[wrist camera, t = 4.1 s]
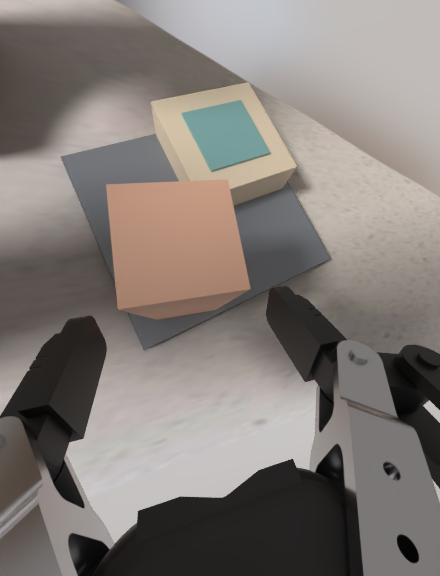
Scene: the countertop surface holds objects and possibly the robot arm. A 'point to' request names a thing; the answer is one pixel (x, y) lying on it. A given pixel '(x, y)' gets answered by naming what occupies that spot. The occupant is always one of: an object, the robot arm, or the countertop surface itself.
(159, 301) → the terracotta block
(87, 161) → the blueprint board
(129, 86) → the countertop surface
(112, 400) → the countertop surface
